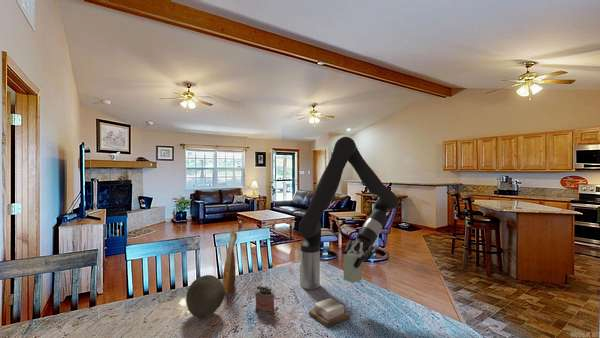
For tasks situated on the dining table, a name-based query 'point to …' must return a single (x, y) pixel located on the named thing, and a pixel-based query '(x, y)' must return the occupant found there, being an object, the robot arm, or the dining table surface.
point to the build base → (328, 322)
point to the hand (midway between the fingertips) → (350, 265)
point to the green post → (351, 268)
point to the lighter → (264, 300)
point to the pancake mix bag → (230, 264)
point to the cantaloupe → (205, 296)
